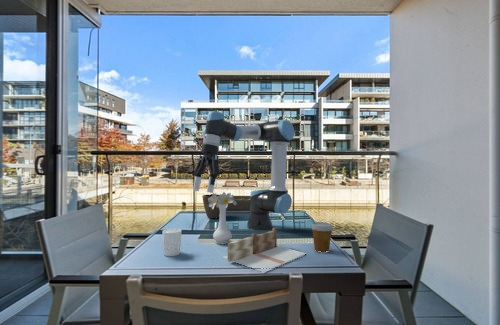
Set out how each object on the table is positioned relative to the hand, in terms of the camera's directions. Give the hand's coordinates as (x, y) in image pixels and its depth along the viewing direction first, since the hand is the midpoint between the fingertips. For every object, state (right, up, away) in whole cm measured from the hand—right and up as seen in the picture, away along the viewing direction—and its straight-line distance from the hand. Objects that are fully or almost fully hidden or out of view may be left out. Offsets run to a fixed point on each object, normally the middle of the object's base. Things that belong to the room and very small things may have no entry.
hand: (202, 191), depth 121 cm
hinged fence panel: (+17, -26, -10) cm, 32 cm away
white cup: (-13, -27, -3) cm, 30 cm away
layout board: (+28, -27, -6) cm, 39 cm away
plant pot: (-6, -27, +74) cm, 79 cm away
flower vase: (+7, -27, +14) cm, 31 cm away
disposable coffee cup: (+54, -27, +3) cm, 60 cm away
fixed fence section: (+28, -26, +1) cm, 38 cm away
